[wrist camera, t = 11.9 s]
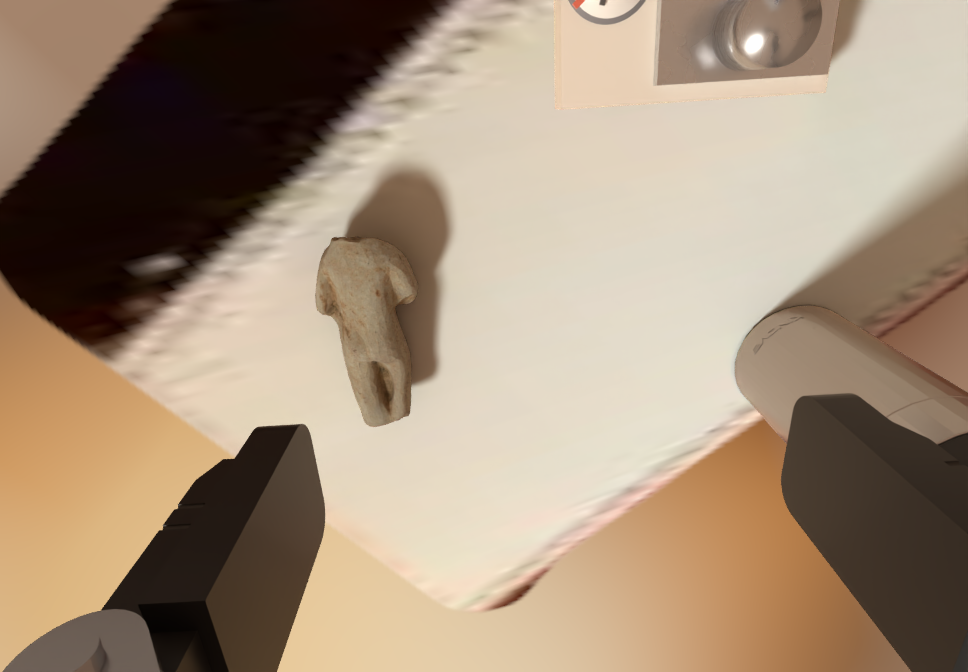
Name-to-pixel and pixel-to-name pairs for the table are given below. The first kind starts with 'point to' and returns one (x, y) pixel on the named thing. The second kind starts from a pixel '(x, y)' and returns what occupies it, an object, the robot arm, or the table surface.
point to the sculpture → (370, 321)
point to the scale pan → (690, 55)
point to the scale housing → (635, 60)
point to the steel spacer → (765, 32)
